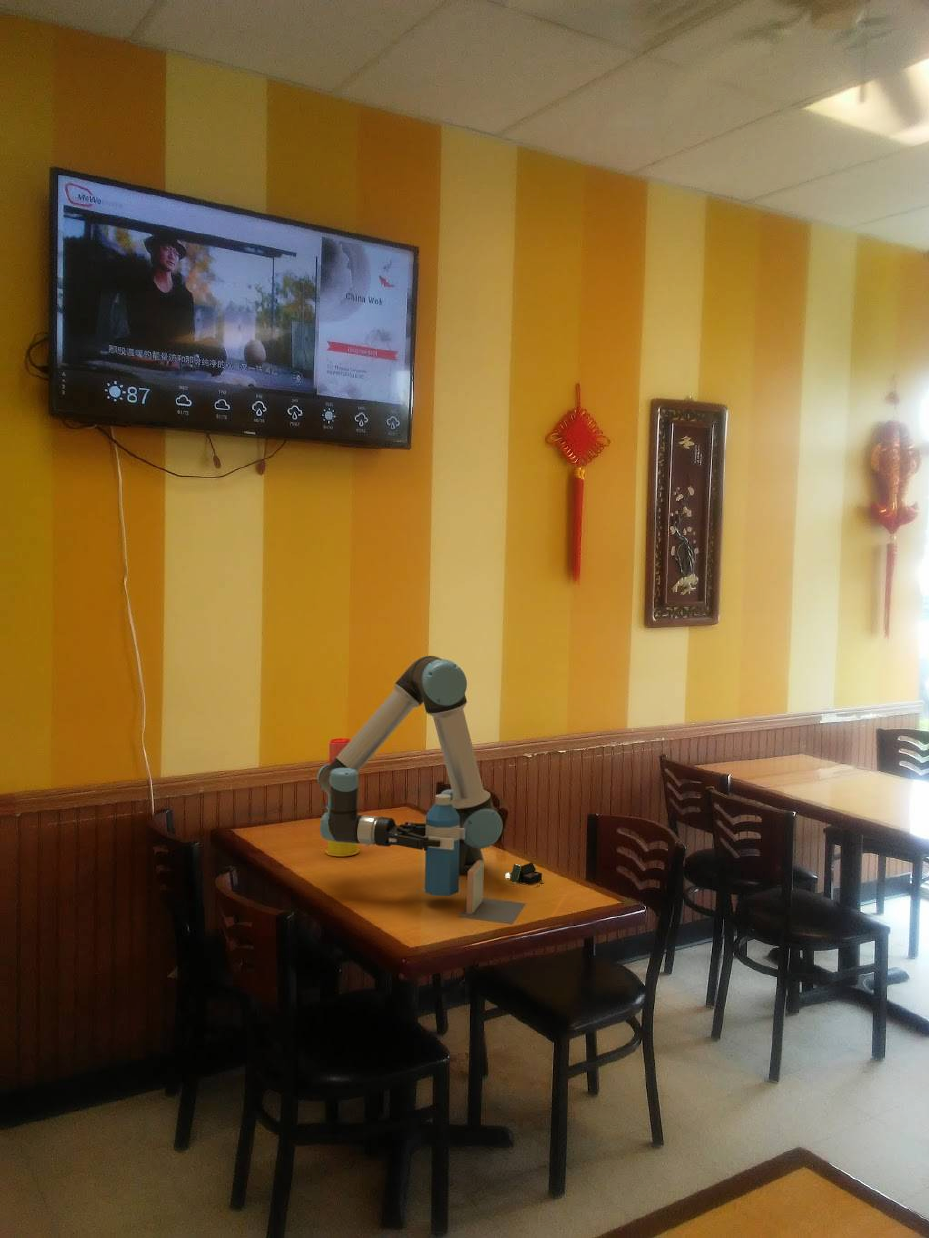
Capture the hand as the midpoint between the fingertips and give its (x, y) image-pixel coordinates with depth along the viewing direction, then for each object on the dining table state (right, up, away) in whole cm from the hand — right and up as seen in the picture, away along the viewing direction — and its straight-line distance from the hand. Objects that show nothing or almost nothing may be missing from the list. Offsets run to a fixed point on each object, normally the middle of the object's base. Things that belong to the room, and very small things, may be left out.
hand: (458, 838), depth 265 cm
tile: (+4, -18, 0) cm, 18 cm away
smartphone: (+19, -18, +26) cm, 37 cm away
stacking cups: (-36, -14, +47) cm, 60 cm away
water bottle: (-5, -14, +2) cm, 15 cm away
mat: (+9, -19, -1) cm, 21 cm away
